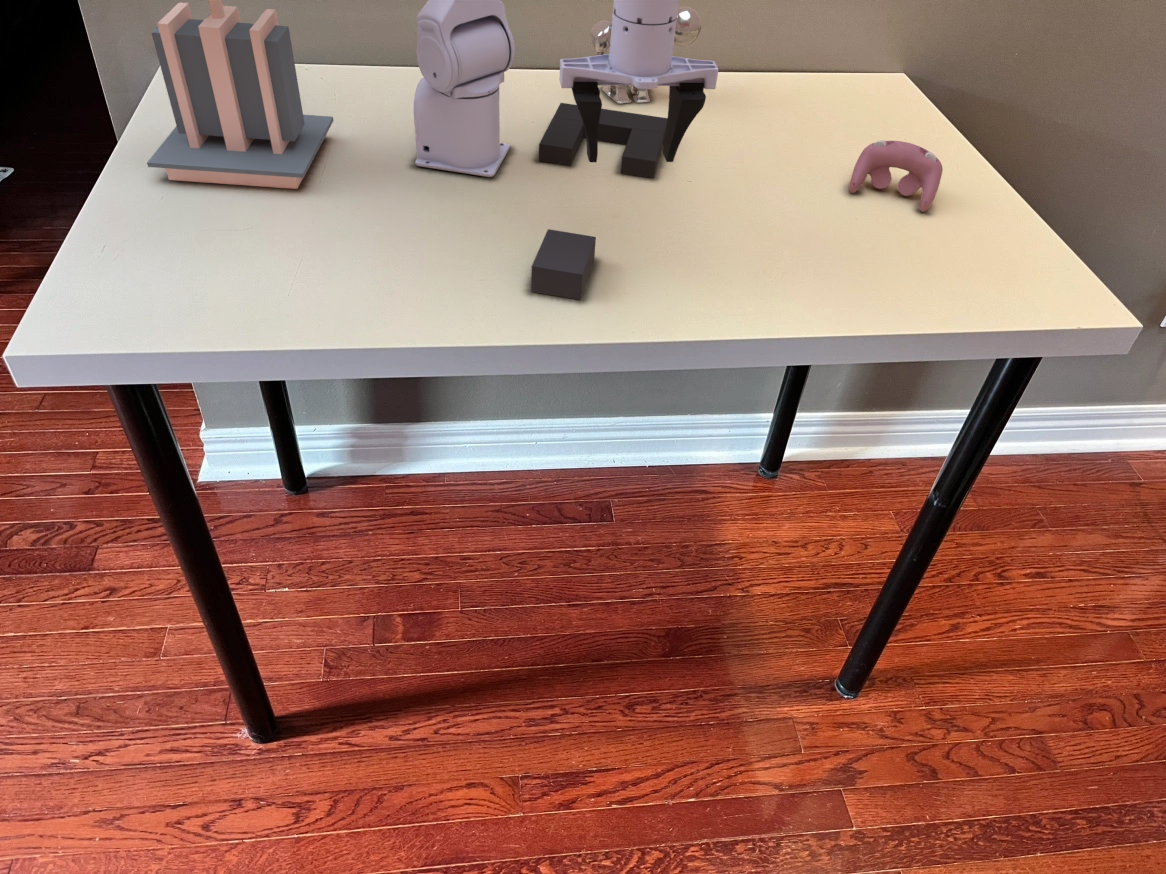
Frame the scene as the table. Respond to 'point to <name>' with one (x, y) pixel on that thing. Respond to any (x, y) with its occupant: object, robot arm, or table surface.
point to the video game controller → (904, 156)
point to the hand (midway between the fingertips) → (629, 157)
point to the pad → (563, 264)
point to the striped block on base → (233, 101)
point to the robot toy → (684, 35)
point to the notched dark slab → (606, 138)
